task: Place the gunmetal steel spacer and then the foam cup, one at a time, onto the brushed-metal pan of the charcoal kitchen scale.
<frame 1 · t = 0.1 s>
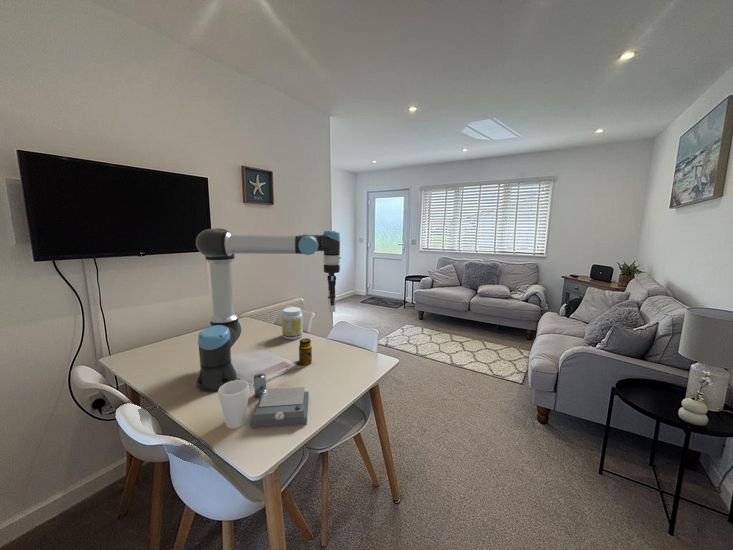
hand: (331, 307, 141), 28 cm above the table, fingers open, 13 cm apart
scale base: (282, 411, 107), on the table
spacer: (260, 394, 117), on the table
foam cup: (236, 422, 101), on the table
condiment: (303, 363, 144), on the table
supplement tub: (292, 336, 178), on the table
pan: (283, 398, 108), point 4 cm above the table, slide at 0.2 cm
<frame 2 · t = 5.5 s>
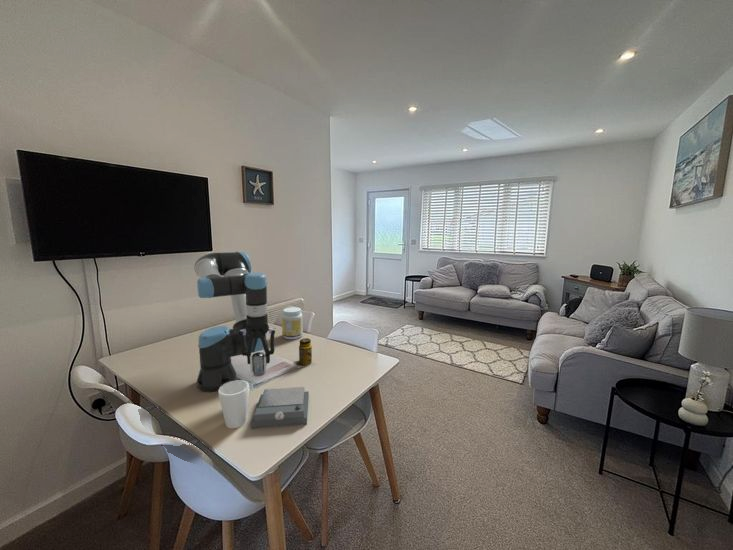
hand: (259, 370, 116), 10 cm above the table, fingers closed on spacer, 4 cm apart
spacer: (259, 373, 116), point 9 cm above the table, touching gripper
everything else where it was.
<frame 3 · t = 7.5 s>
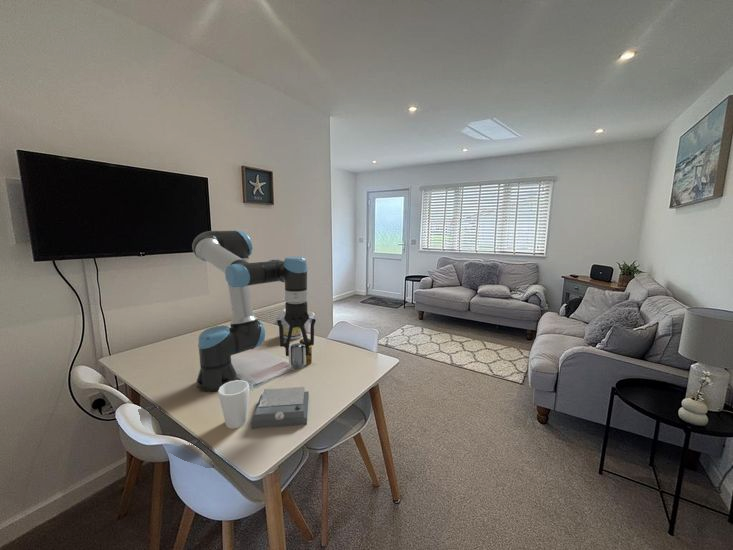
hand: (297, 363, 107), 17 cm above the table, fingers closed on spacer, 4 cm apart
spacer: (297, 366, 107), point 16 cm above the table, touching gripper
everything else where it was.
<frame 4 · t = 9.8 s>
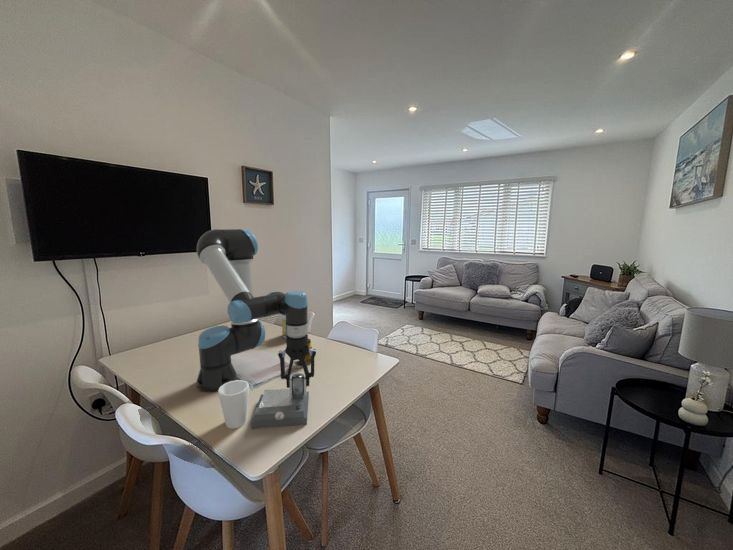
hand: (298, 394, 109), 5 cm above the table, fingers closed on spacer, 4 cm apart
spacer: (298, 396, 109), point 5 cm above the table, touching gripper, pan
pan: (283, 398, 108), point 4 cm above the table, slide at 0.5 cm, touching spacer
everything else where it was.
when the fingers open (5 cm above the table, at t = 9.8 s): spacer stays where it is, resting on pan.
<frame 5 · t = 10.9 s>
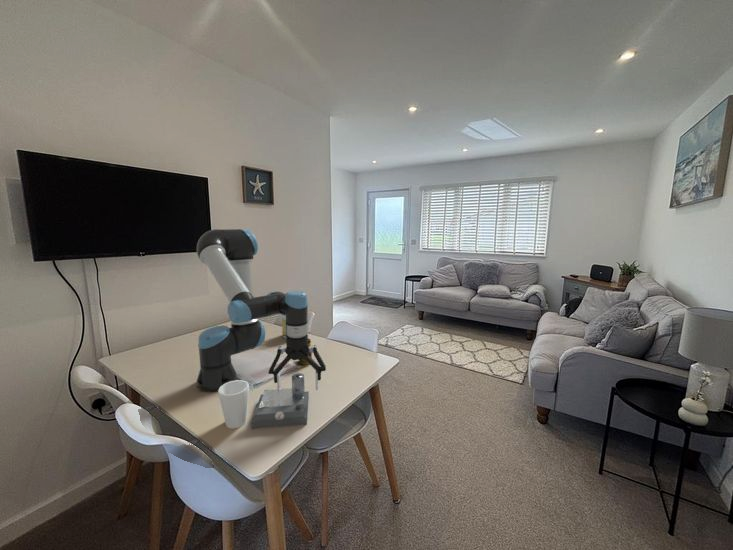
hand: (298, 389, 108), 7 cm above the table, fingers open, 13 cm apart
spacer: (298, 396, 109), point 5 cm above the table, touching pan
everything else where it was.
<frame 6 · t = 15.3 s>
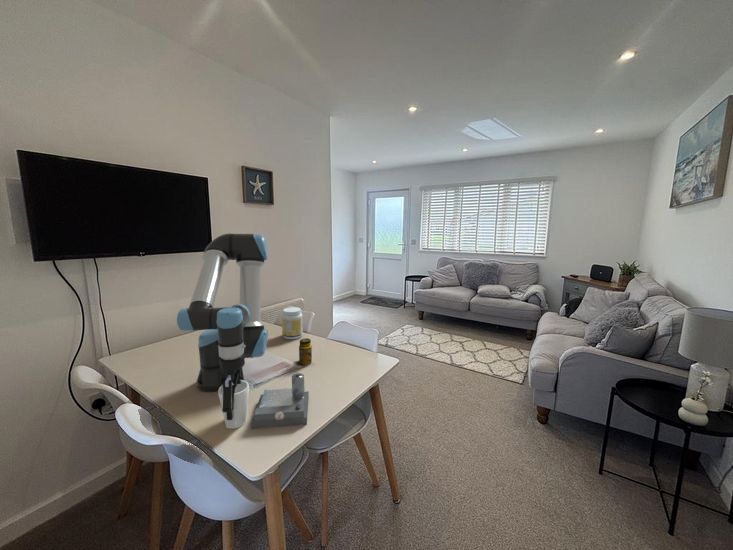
hand: (235, 416, 100), 2 cm above the table, fingers closed on foam cup, 9 cm apart
foam cup: (236, 422, 101), on the table, touching gripper
everything else where it was.
when the fingers open (9 cm above the table, at t = 20.6 s): foam cup drops 2 cm, resting on pan.
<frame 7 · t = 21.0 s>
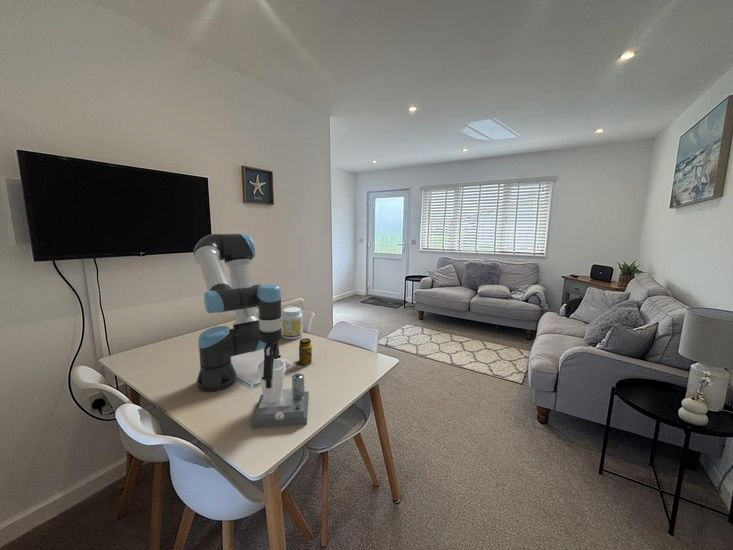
hand: (272, 384, 107), 10 cm above the table, fingers open, 13 cm apart
foam cup: (273, 398, 107), point 4 cm above the table, touching pan
pan: (283, 399, 108), point 4 cm above the table, slide at 0.6 cm, touching foam cup, spacer
everything else where it was.
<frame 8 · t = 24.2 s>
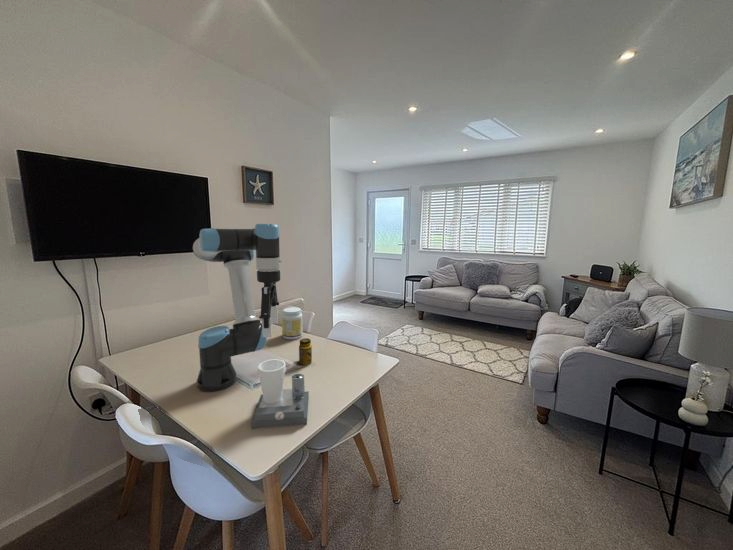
hand: (270, 329, 103), 31 cm above the table, fingers open, 13 cm apart
nothing on the table moved.
at the end: foam cup inside the target area (3.5 cm from its centre), point 4.1 cm above the table; foam cup tilted 0°; spacer inside the target area (5.0 cm from its centre), point 4.3 cm above the table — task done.
